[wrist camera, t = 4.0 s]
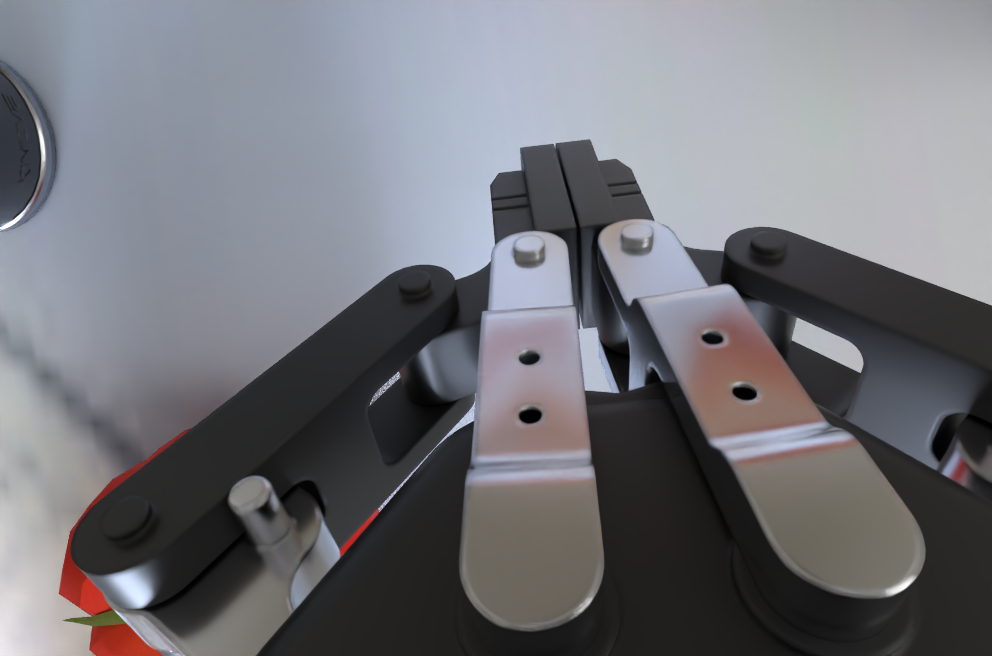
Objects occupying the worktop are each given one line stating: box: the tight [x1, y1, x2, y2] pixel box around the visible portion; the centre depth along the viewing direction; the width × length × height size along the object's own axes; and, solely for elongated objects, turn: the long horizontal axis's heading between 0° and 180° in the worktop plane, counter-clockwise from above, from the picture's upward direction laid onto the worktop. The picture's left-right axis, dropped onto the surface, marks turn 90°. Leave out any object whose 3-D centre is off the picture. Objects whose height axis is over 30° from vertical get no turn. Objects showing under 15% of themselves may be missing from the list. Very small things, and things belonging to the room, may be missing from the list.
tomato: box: [59, 428, 379, 656], centre depth 32 cm, size 13×14×12 cm
